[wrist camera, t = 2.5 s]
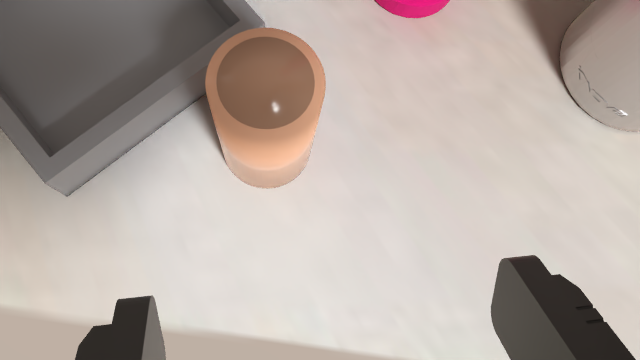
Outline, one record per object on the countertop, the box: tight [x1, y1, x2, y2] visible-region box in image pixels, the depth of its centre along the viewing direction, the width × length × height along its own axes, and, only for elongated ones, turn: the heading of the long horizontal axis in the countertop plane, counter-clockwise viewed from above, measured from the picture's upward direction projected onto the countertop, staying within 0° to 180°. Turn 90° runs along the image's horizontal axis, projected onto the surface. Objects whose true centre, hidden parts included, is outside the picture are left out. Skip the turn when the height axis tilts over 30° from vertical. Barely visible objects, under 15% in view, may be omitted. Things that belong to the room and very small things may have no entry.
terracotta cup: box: [205, 28, 326, 188], centre depth 31 cm, size 5×5×10 cm
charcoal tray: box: [0, 0, 265, 196], centre depth 35 cm, size 15×15×4 cm
